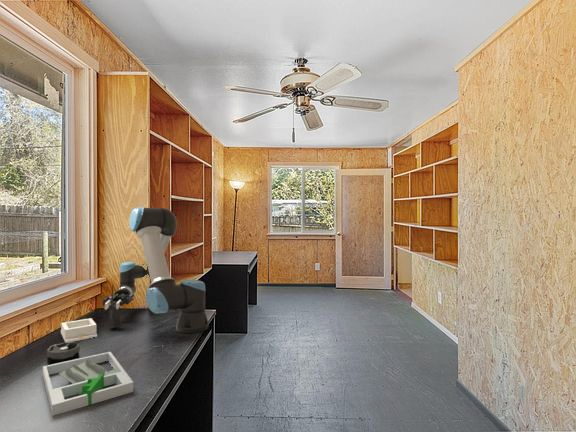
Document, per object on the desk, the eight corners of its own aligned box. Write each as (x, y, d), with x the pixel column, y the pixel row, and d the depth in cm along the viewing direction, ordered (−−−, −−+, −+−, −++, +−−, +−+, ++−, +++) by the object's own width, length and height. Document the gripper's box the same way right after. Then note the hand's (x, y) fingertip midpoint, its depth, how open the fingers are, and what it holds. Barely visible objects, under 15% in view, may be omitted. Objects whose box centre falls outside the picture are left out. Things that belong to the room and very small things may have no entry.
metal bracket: (52, 370, 110) (93, 352, 124) (48, 386, 111) (89, 367, 125) (83, 391, 105) (122, 370, 119) (79, 408, 106) (118, 385, 120)
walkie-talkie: (113, 328, 163) (114, 285, 162) (107, 327, 163) (108, 285, 163) (120, 325, 167) (121, 283, 167) (114, 324, 168) (115, 283, 168)
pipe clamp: (91, 387, 110) (92, 374, 110) (103, 386, 111) (103, 373, 111) (77, 405, 100) (77, 390, 100) (90, 404, 100) (91, 389, 100)
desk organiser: (133, 391, 108) (133, 382, 108) (52, 415, 95) (52, 405, 95) (110, 359, 131) (110, 351, 131) (42, 375, 118) (42, 366, 118)
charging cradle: (97, 337, 154) (97, 325, 154) (65, 343, 147) (65, 331, 147) (90, 327, 167) (90, 317, 167) (60, 332, 159) (60, 321, 159)
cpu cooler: (81, 347, 128) (48, 354, 122) (81, 363, 128) (48, 370, 122) (76, 339, 136) (45, 345, 130) (76, 354, 136) (45, 360, 130)
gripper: (140, 301, 185) (131, 313, 162) (105, 302, 181) (90, 315, 158) (140, 287, 185) (131, 297, 162) (105, 288, 181) (91, 299, 158)
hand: (111, 306), depth 160 cm, fingers closed on walkie-talkie, 4 cm apart
